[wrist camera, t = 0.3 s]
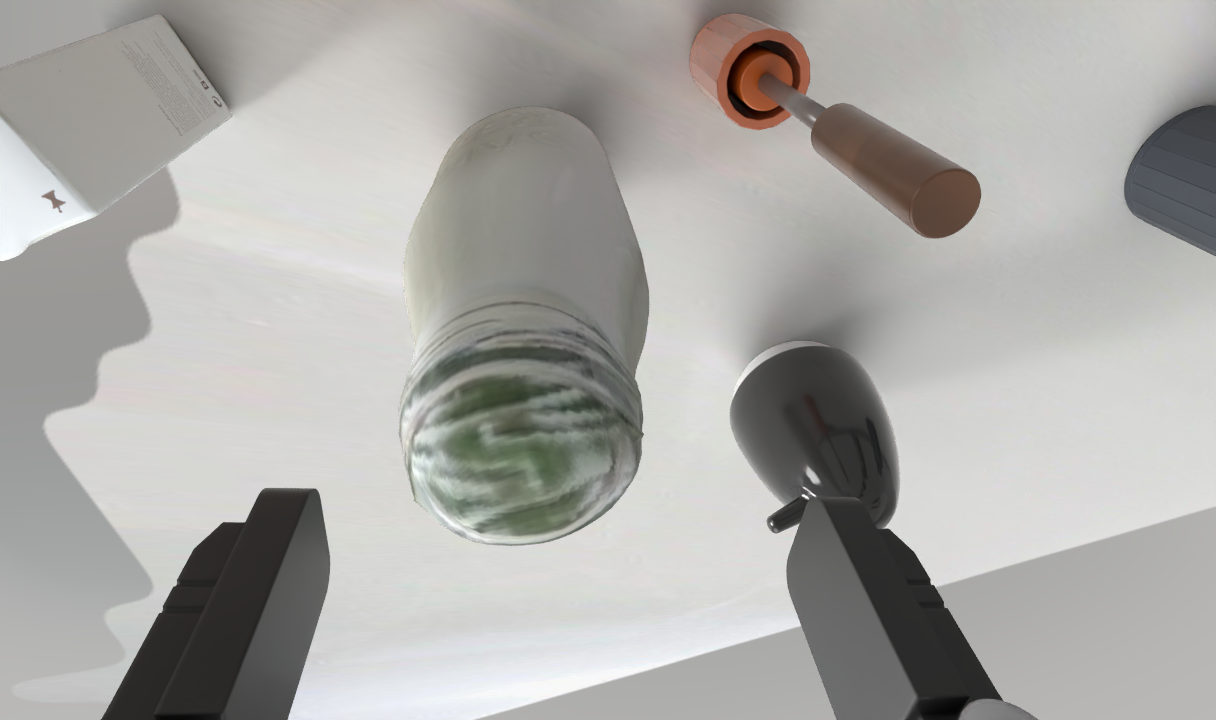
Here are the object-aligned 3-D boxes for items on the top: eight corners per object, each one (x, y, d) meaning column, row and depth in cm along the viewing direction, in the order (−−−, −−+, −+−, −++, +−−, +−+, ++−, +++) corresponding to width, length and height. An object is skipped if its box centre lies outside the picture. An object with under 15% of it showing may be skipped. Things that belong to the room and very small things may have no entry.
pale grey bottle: (567, 56, 39) (624, 266, 15) (635, 214, 44) (757, 550, 20) (413, 132, 40) (245, 432, 16) (498, 276, 45) (463, 658, 22)
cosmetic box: (163, 10, 36) (-36, 59, 23) (241, 120, 39) (103, 214, 26) (32, 80, 37) (-224, 162, 24) (119, 181, 40) (-69, 300, 27)
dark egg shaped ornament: (711, 332, 49) (774, 476, 36) (854, 308, 49) (967, 444, 37) (718, 441, 55) (774, 599, 42) (846, 420, 55) (942, 571, 42)
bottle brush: (728, 24, 38) (951, 138, 18) (762, 52, 39) (1012, 191, 19) (699, 65, 39) (880, 219, 19) (733, 92, 40) (940, 265, 20)
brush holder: (723, -6, 38) (759, 8, 32) (785, 45, 39) (829, 67, 33) (673, 69, 39) (698, 95, 34) (733, 115, 41) (767, 147, 35)
